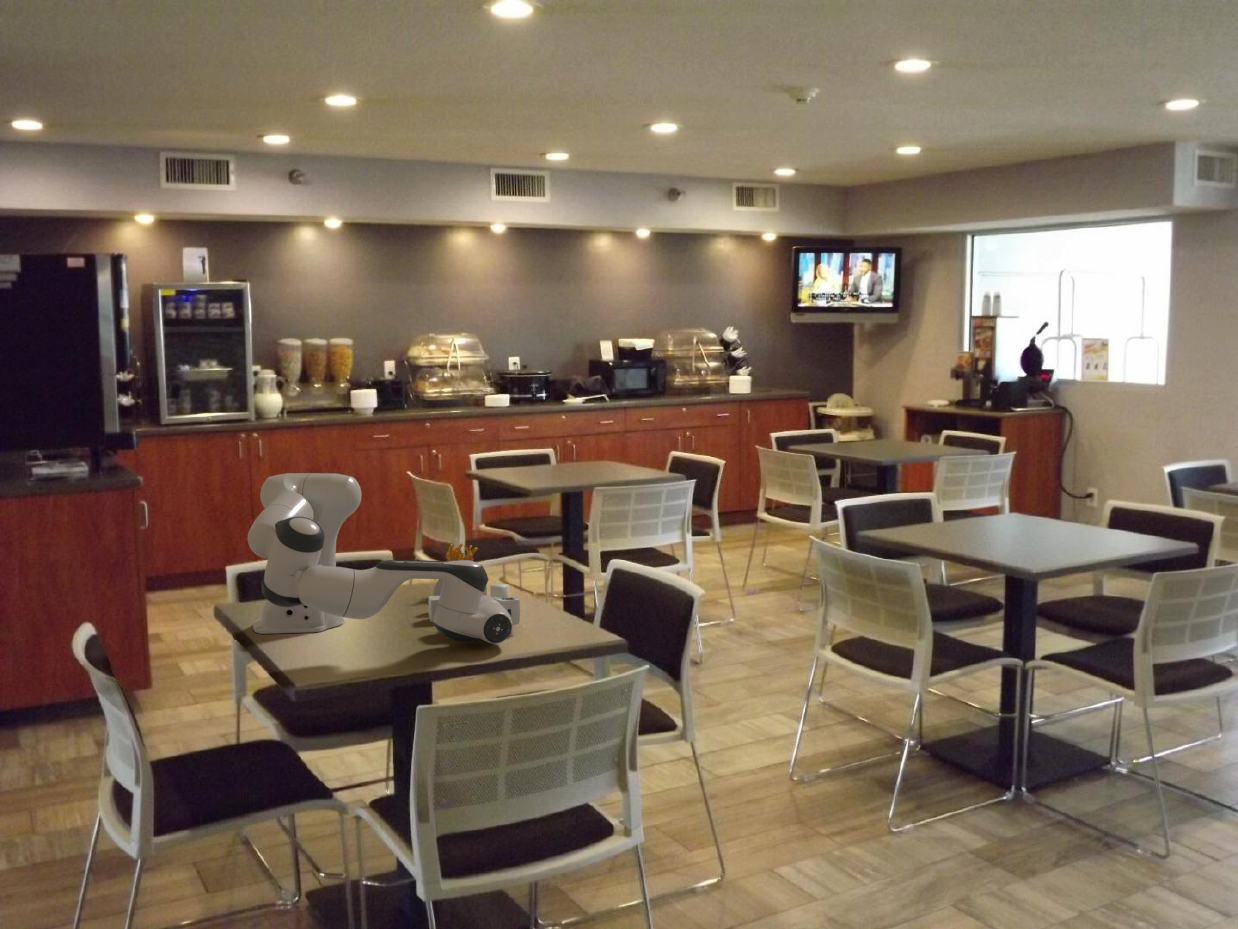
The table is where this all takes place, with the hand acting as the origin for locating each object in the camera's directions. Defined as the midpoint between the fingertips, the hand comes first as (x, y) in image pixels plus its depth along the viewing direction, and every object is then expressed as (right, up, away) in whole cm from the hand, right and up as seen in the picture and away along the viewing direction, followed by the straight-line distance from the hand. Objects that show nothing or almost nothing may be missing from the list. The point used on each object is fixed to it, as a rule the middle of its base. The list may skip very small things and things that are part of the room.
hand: (474, 602), depth 299 cm
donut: (-8, -4, +17) cm, 19 cm away
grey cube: (-10, -5, +5) cm, 12 cm away
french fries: (-8, -2, +36) cm, 37 cm away
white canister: (+6, -5, +10) cm, 12 cm away
